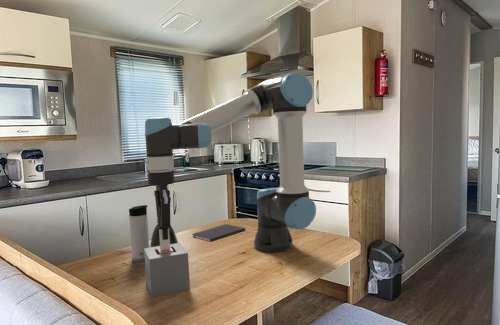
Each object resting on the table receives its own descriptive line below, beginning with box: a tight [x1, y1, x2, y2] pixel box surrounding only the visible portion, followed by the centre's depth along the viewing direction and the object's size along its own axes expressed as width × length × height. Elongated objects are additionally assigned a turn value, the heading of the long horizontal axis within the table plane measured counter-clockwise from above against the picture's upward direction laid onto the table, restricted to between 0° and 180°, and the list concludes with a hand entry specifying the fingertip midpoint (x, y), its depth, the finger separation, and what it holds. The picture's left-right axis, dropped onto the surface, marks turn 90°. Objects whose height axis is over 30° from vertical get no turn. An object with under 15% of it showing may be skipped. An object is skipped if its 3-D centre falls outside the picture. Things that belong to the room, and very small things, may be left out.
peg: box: [157, 247, 173, 255], centre depth 113 cm, size 4×4×10 cm
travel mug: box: [128, 204, 150, 263], centre depth 138 cm, size 6×7×20 cm
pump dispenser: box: [149, 223, 179, 248], centre depth 132 cm, size 10×10×15 cm
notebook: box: [191, 223, 246, 242], centre depth 169 cm, size 13×2×21 cm
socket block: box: [144, 242, 191, 298], centre depth 113 cm, size 11×11×11 cm
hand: (165, 249), depth 112 cm, fingers closed
